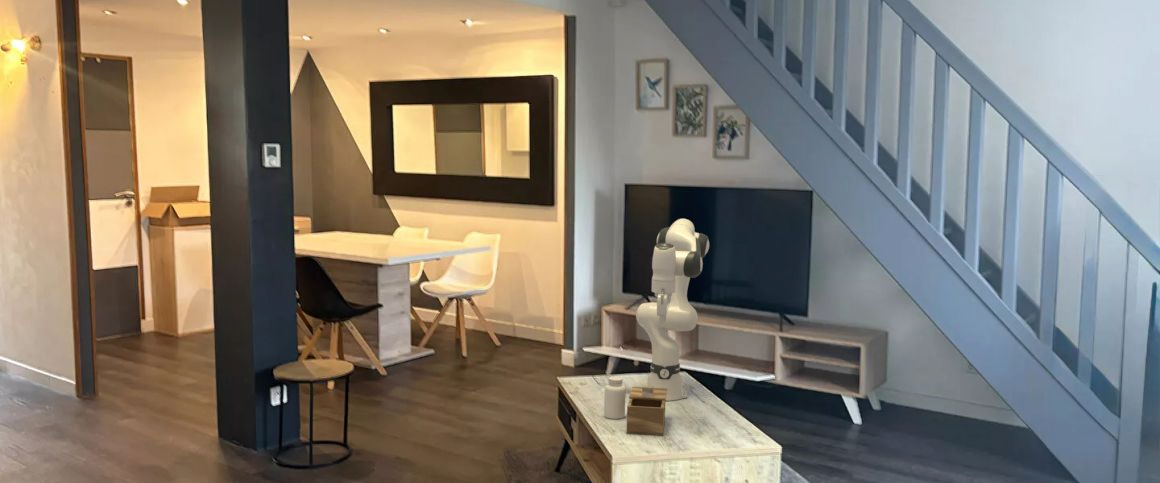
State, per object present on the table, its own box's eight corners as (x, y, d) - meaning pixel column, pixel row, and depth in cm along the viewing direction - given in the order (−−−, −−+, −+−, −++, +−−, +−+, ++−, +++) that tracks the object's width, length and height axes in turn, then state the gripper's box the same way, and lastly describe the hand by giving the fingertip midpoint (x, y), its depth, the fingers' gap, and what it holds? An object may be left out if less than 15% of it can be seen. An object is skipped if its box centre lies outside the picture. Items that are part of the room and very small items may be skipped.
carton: (630, 422, 342) (630, 396, 341) (664, 424, 340) (665, 397, 339) (626, 433, 328) (627, 406, 327) (662, 435, 326) (663, 408, 325)
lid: (632, 388, 351) (632, 377, 351) (667, 390, 349) (667, 379, 349) (629, 398, 337) (629, 387, 336) (665, 400, 335) (665, 389, 334)
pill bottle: (623, 420, 344) (624, 381, 342) (602, 418, 346) (603, 380, 344) (626, 414, 352) (627, 376, 350) (605, 412, 353) (606, 374, 352)
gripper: (670, 291, 328) (669, 329, 330) (673, 283, 348) (672, 319, 350) (653, 291, 329) (652, 328, 331) (656, 283, 349) (655, 318, 351)
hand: (662, 323), depth 340 cm, fingers open, 8 cm apart
